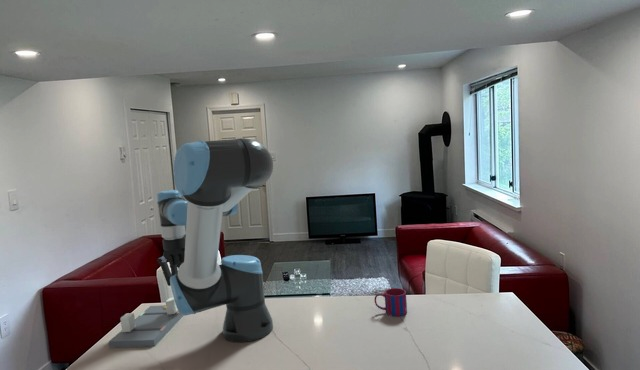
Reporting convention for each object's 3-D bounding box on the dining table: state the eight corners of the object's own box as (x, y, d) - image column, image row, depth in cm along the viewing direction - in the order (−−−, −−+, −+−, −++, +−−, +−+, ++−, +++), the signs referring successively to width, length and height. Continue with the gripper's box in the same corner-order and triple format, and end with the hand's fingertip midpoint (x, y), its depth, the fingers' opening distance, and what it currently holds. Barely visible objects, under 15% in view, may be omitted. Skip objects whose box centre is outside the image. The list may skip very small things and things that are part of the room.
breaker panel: (154, 346, 124) (153, 338, 124) (109, 347, 125) (108, 340, 125) (189, 309, 150) (188, 303, 149) (151, 311, 151) (150, 304, 151)
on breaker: (129, 331, 130) (128, 317, 129) (122, 332, 130) (120, 318, 130) (135, 326, 133) (134, 313, 133) (128, 326, 134) (126, 313, 133)
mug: (406, 317, 130) (405, 296, 130) (374, 316, 133) (373, 295, 132) (407, 308, 137) (406, 288, 136) (376, 307, 139) (375, 287, 138)
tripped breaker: (174, 314, 141) (172, 301, 140) (167, 314, 141) (165, 301, 141) (178, 309, 144) (177, 297, 144) (171, 310, 145) (170, 297, 144)
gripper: (197, 233, 143) (204, 299, 146) (160, 234, 144) (168, 300, 147) (188, 238, 135) (196, 308, 138) (149, 240, 137) (158, 310, 139)
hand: (182, 304), depth 143 cm, fingers closed
